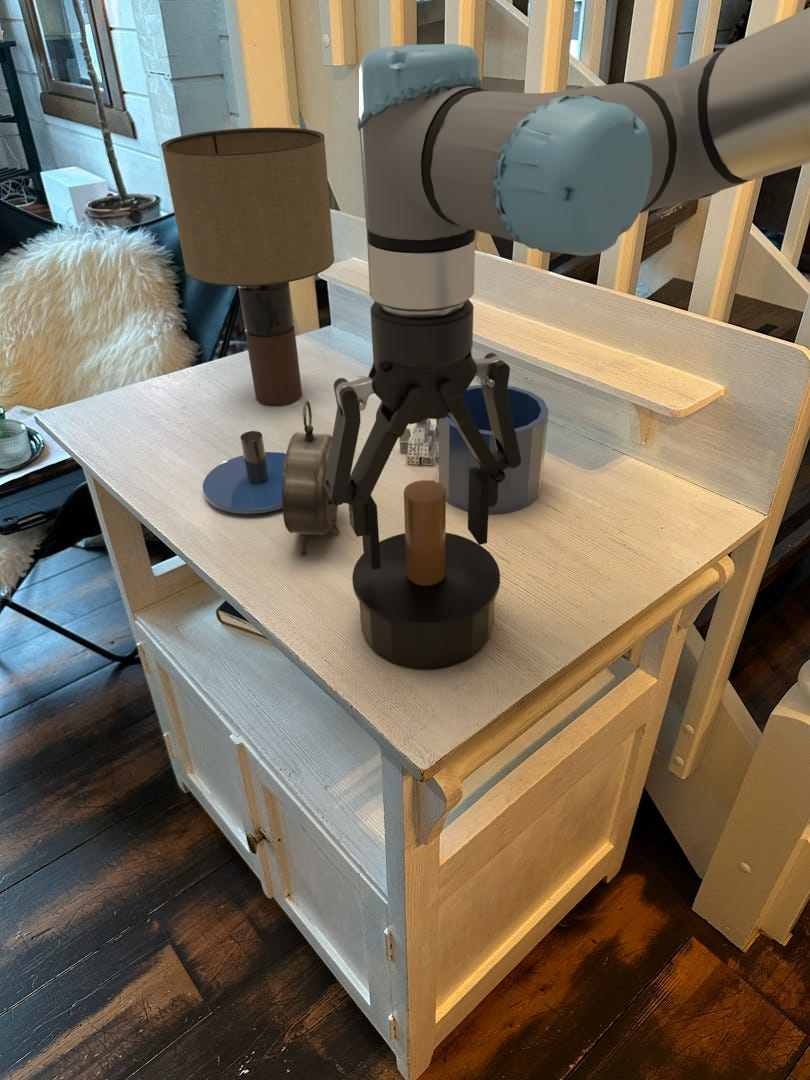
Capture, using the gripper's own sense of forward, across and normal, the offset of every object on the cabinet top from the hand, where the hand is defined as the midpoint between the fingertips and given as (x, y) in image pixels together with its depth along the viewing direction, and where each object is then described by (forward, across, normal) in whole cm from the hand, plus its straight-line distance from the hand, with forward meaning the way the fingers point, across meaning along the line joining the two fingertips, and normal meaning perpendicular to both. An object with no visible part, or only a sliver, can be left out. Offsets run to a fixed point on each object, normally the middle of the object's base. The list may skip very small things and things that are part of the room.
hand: (425, 547), depth 68 cm
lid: (+4, 0, 0) cm, 4 cm away
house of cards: (+9, -10, -33) cm, 36 cm away
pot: (+9, -16, -21) cm, 28 cm away
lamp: (+9, +3, -56) cm, 57 cm away
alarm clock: (+9, +6, -18) cm, 21 cm away
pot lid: (+8, +11, -31) cm, 34 cm away
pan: (+9, 0, 0) cm, 9 cm away
